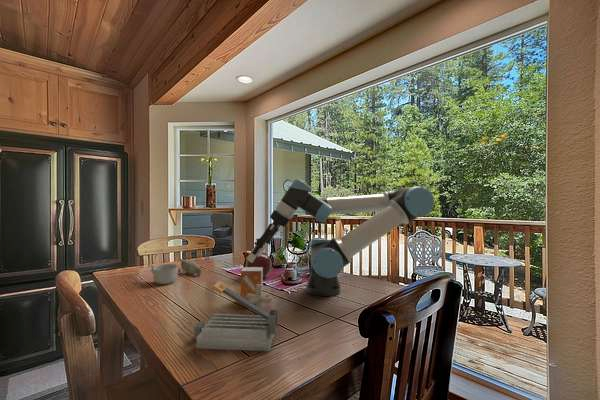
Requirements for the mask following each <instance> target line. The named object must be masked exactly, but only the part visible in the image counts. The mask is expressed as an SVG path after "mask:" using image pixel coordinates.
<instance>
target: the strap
mask: <svg viewBox="0 0 600 400" xmlns="http://www.w3.org/2000/svg"><path fill="white" fill-rule="evenodd" d="M228 286H229V285H227V284H225V283H224V282H222V281H221V280H219V281H217V282H216V283H215V284H214V285H213V286H212V289H213V290H214V291H216V292H218V293H219V294H225V295H226V296H228V297H229V298H231V299H233V300H234V301H236V302H237V303H239V304H240V303H241V305H242V306H244V307H246V308H247V309H248V310H250V311H251V312H254V313H256V314H257V315H260V316H262V317H263V318H265V319H267V320H268V315H270V313H269V312H267V311H265V310H264V309H262V307H261V308H259V307H257V306H256V304H253V303H251V302H249V301H248V300H246V299H244V298H243V297H241V294H238V293H236V292H235V291H233V290H231V289H230V288H228Z"/></svg>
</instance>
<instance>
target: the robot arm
mask: <svg viewBox="0 0 600 400" xmlns="http://www.w3.org/2000/svg"><path fill="white" fill-rule="evenodd" d="M311 190H312V187H311V186H310V185H309V184H307V183H306V182H305V181H303V180H302V179H299V178H296V179H294V180H293V182H292V183H291V185H290V186H289V187H288V189H287V190H286V192H285V194H283V196H282V198H281V199H280V201H278V202H277V206H276V207H275V209H274V210H273V211H272V213H271V214H270V216H269V217H270V219H271V220H273V222H271V223H269V224H268V226H267V228H266V229H265V230H264V232H263V233H262V235H261V236H260V237H259V238H258V239H259V240H258V242H257V241H255V242H254V244H253V245H254V247H252V249H251V251H250V252H249V254H248V255H247V257H246V259H245V260H246V261H247V260H248V261H250V262H251V263H253V261H254V260H255V258H256V257H257V256H258V257H260V256H261V254H262V253H264V251H265V249H266V248H267V247H268V245H271V241H272V240H273V238H274V236H275V234H277V233H278V231H279V230H280V226H281V227H284V228H286V226H288V224H289V222H290V219H293V217H294V215H295V213H296V212H297V210H298V209H299V208H300V209H301V210H302V211H304V212H305V213H306V214H308V215H309V216H311V217H312V218H314V219H315V220H317V221H319V222H321V223H325V222H326V221H327V219H328V218H329V217H330V215H342V214H343V215H344V214H358V213H359V214H360V213H374V212H377V213H376V214H374V215H373V216H371V217H369V218H367V219H366V221H364V222H362V223H361V224H360V225H358V226H356V227H355V228H353V229H352V230H350V231H349V232H348V233H345V234H344V235H343V236H342V237H340V238H336V237H333V238H331V239H312V240H311V242H310V274H309V277H308V281H307V284H306V292H307V293H308V294H310V295H314V296H321V297H322V296H323V297H325V296H326V297H328V296H329V297H331V296H332V297H333V296H335V295H338V294H340V293H341V290H342V289H341V283H340V281H339V280H340V279H339V276H338V275H339V274H340V273H341V272H342V271H343V268H344V267H346V266H347V265H349V264H351V262H352V258H353V257H354V256H356V255H357V254H359V253H360V252H361V251H362V250H364V249H366V248H367V247H369V246H370V245H372V244H373V243H375V242H376V241H377V240H379V239H381V238H382V237H383V236H385V235H387V234H388V233H390V232H391V231H393V230H394V229H396V228H397V227H399V226H400V225H402V224H405V225H408V224H410V223H411V222H413V221H414V220H416V219H418V218H424V217H426V216H427V215H429V214H430V213H432V211H433V209H434V207H435V206H434V205H435V199H434V198H435V197H434V196H433V193H432V192H431V190H429V189H428V188H426V187H425V186H424V187H423V186H418V185H416V186H410V187H403V188H399V189H394V190H388V191H384V192H383V193H381V194H379V193H378V194H377V193H376V194H365V195H363V194H362V195H351V196H335V197H334V196H333V197H325V198H323V197H322V198H320V197H317V196H316V195H315V194H313V193H312V192H311Z"/></svg>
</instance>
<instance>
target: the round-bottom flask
mask: <svg viewBox="0 0 600 400" xmlns="http://www.w3.org/2000/svg"><path fill="white" fill-rule="evenodd" d="M259 239H260V238H256V239H255V240H256V242H258V240H259ZM245 262H246V263H245V267H263V278H264V277H266V276H267V275H268V274H269V273H270V272H271V270H272V268H273V267H272V265H273V262H272V259H271V258H270V256H269V255H268V254H267V253H265V252H263V253H262V254H261V256H260V257H258V256H257V257H256V258H255V260H254V261H253V263H251V262H250V261H248V260H247V259H246V261H245Z"/></svg>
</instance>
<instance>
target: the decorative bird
mask: <svg viewBox="0 0 600 400" xmlns="http://www.w3.org/2000/svg"><path fill="white" fill-rule="evenodd" d="M179 261H180V262H181V263H180V267H181V268H179V269H177V274H178V273H179V274H180V273H181V270H182V272H185V273H186V274H187V275H195V274H196V275H197V276H198V277H200V276H201V275H202V274H201V273H202V268H201V266H200V265H199V264H196V263H194V262H192V261H187V260H186V259H184V258H183V259H182V258H180V259H179Z"/></svg>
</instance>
